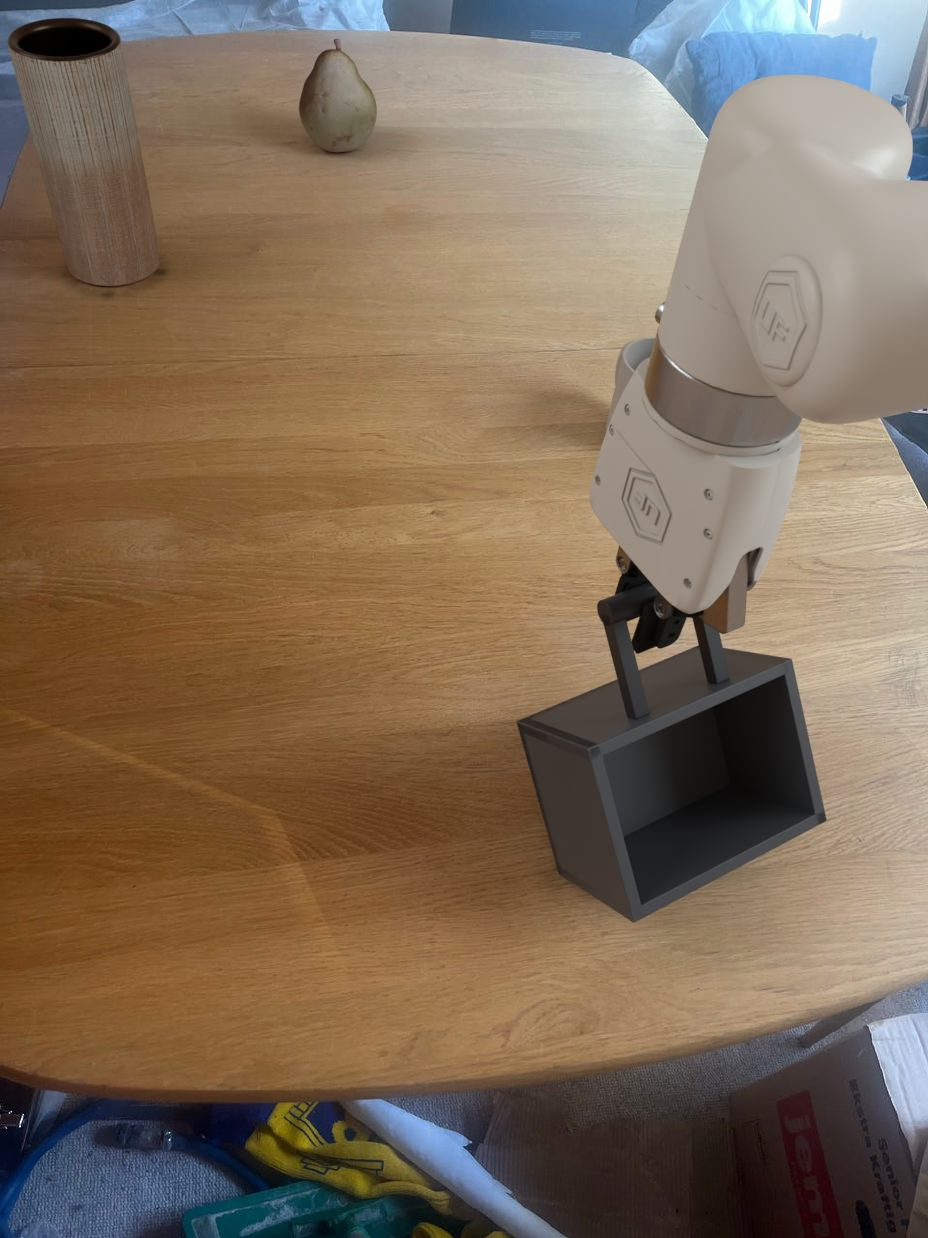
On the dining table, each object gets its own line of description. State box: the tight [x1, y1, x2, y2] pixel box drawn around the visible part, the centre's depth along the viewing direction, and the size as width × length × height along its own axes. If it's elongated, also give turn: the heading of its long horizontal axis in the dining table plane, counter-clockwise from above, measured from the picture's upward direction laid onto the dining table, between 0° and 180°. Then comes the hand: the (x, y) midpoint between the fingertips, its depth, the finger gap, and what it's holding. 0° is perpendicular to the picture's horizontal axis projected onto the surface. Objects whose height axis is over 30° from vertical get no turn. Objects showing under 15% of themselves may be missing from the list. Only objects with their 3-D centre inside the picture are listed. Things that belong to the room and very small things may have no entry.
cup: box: [605, 336, 656, 433], centre depth 91 cm, size 7×10×9 cm
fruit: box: [298, 38, 378, 153], centre depth 124 cm, size 10×9×12 cm
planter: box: [7, 17, 161, 287], centre depth 98 cm, size 10×10×23 cm
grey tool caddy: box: [515, 582, 827, 924], centre depth 60 cm, size 18×15×9 cm
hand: (642, 627), depth 59 cm, fingers closed on grey tool caddy
